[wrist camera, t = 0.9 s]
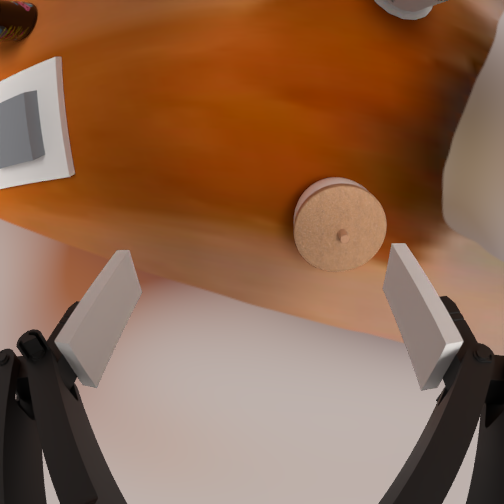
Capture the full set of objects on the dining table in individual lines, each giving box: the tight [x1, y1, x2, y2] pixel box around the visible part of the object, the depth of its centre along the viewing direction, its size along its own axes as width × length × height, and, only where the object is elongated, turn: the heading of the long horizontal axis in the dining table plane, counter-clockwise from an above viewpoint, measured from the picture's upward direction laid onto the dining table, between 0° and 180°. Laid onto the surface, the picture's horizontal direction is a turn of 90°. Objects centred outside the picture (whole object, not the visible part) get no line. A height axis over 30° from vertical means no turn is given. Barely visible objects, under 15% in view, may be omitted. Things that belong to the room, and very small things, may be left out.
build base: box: [0, 57, 75, 189], centre depth 33 cm, size 18×18×4 cm
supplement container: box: [0, 0, 37, 42], centre depth 21 cm, size 7×7×10 cm
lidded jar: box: [294, 177, 386, 272], centre depth 36 cm, size 11×11×9 cm
